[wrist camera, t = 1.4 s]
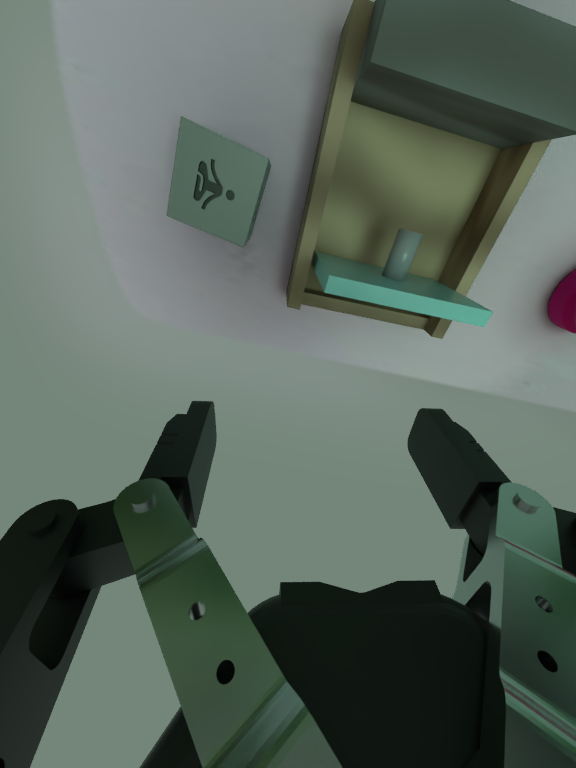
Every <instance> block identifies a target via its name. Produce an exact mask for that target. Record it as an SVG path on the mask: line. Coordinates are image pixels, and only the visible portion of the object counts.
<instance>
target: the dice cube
mask: <svg viewBox="0 0 576 768" xmlns="http://www.w3.org/2000/svg"><path fill="white" fill-rule="evenodd" d="M270 167H271V164H270V161H269V159H268V158H266V157H264V156H262V155H259V154H257V153H255V152H253V151H251V150H249V149H247V148H245V147H243V146H241V145H239V144H237V143H235V142H233V141H231V140H229V139H227V138H225V137H223V136H221V135H219V134H217V133H215V132H213V131H211V130H209V129H207V128H204V127H202V126H200V125H198V124H196V123H194V122H192V121H190V120H188V119H186V118H184V117H182V116H181V120H180V127H179V134H178V141H177V148H176V155H175V162H174V169H173V175H172V182H171V189H170V196H169V203H168V210H167V216H168V217H171V218H173V219H176V220H178V221H181V222H183V223H185V224H188V225H190V226H193V227H195V228H198V229H200V230H202V231H205V232H207V233H210V234H212V235H215V236H217V237H219V238H222V239H224V240H227V241H229V242H232V243H234V244H236V245H239V246H241V247H244V246H245V245H246V243H247V242H248V240H249V239H250V236H251V233H252V229H253V226H254V223H255V219H256V216H257V212H258V209H259V205H260V202H261V198H262V195H263V191H264V188H265V185H266V181H267V178H268V174H269V171H270Z"/></svg>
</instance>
